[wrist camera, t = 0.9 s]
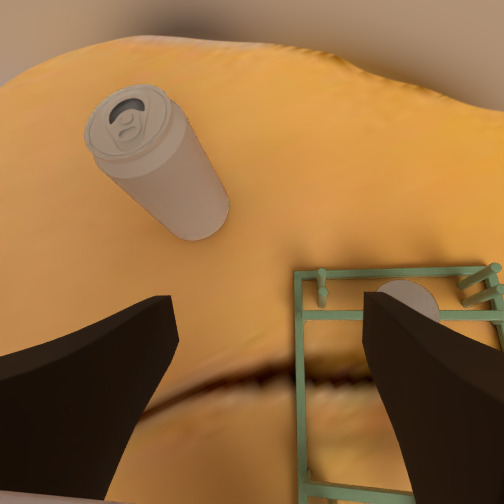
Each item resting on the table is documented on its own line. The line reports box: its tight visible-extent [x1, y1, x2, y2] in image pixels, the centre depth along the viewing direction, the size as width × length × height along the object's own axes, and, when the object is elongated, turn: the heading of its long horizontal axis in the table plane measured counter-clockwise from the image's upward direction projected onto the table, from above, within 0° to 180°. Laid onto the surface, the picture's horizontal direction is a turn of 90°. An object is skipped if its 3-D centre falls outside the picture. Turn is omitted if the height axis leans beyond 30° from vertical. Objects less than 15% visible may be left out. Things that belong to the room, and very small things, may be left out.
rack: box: [294, 263, 504, 504], centre depth 18 cm, size 18×14×4 cm
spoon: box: [376, 280, 440, 323], centre depth 17 cm, size 15×4×1 cm, turn 178°
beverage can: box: [84, 84, 229, 241], centre depth 23 cm, size 6×6×12 cm
